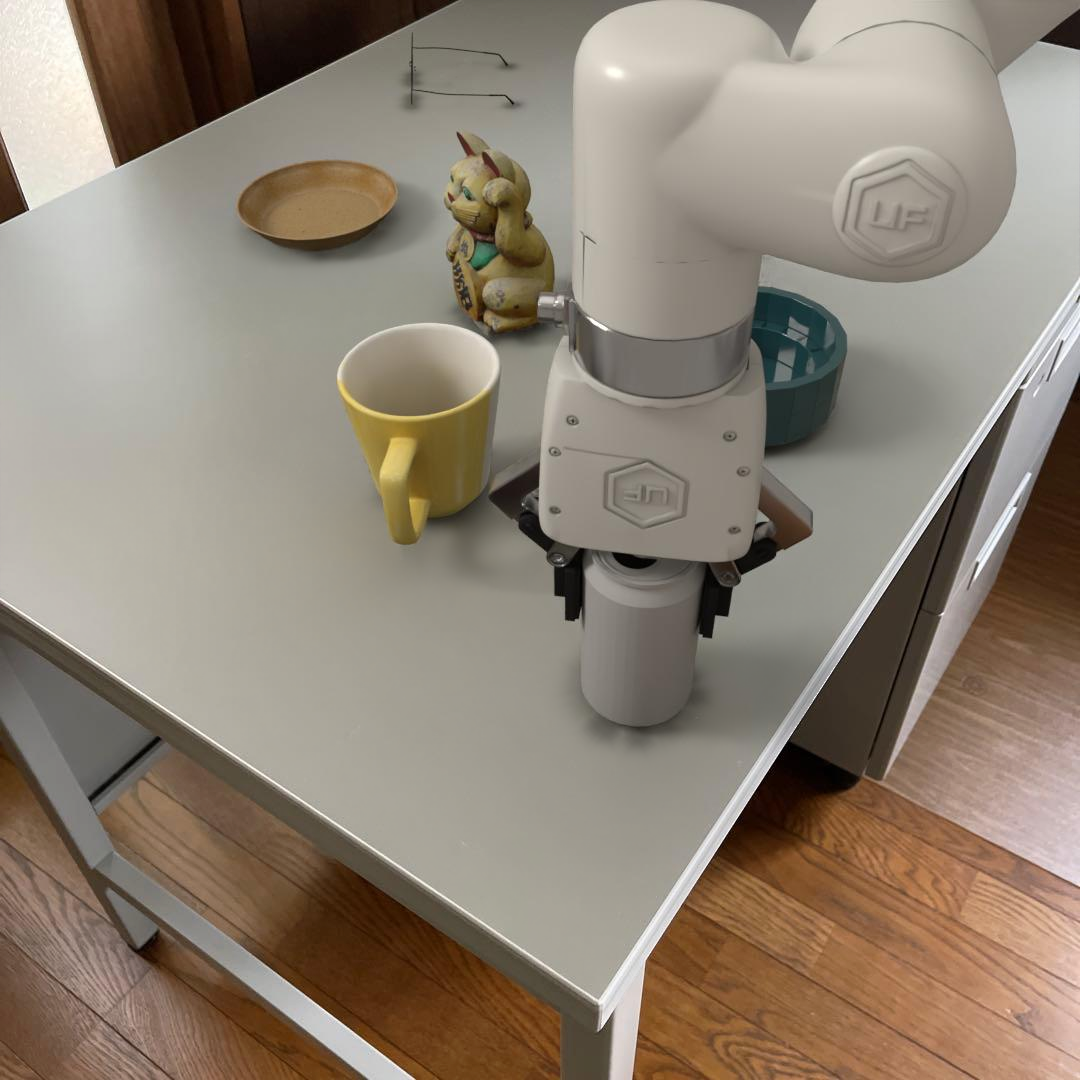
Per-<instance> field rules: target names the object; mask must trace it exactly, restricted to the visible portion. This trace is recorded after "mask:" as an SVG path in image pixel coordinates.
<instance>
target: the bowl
mask: <svg viewBox="0 0 1080 1080" xmlns="http://www.w3.org/2000/svg"><path fill="white" fill-rule="evenodd" d="M751 339H752V340H753V341H754V342H755V343H756V344H757V346H758V348H759V350H760V352H761V355H762V362H763V370H764V378H765V388H766V437H765V448H771V447H777V446H780V445H786V444H789V443H791V442H795V441H797V440H800V439H804V438H806V437H808V436H811V435H812V434H814V433H815V432H816V431H818V430H819V429H820V428H821V427H822V426H824V425H825V424H826V423H827V422H828V421H829V419H830V417H831V415H832V414H833V412H834V409H836V404H837V401H838V396H839V390H840V387H841V386H840V385H841V382H842V377H843V372H844V369H845V364H846V359H847V354H848V334H847V333H846V331H845V328H844V327H843V325H842V324H841V322H840V320H839V318H838V317H837V316H835V315H834V314H833V313H832V312H830V311H829V310H828V309H827V308H826V307H824V305H822V304H820V303H818V302H817V301H814V300H812V299H810V298H808V297H806V296H803V295H801V294H800V293H799V294H798V293H796V292H793V291H788V290H785V289H781V288H777V287H773V286H763V285H758V291H757V297H756V307H755V314H754V321H753V328H752V335H751Z"/></svg>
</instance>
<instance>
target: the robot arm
mask: <svg viewBox="0 0 1080 1080" xmlns="http://www.w3.org/2000/svg"><path fill="white" fill-rule="evenodd" d="M1079 10H1080V0H815V2H814V4H813V5H812V7H811V8H810V9H809V11H808V13H807V15H806V16H805V18H804V20H803V21H802V23H801V24H800V27H799V29H798V31H797V33H796V36H795V39H794V40H793V44H792V46H791V50H790V53H789V55H788V54H787V53H786V51H785V48H784V45H783V43H782V41H781V39H780V38H779V36H778V34H777V33H776V31H774V29H773V28H772V27H771V26H770V25H769V24H768V23H767V22H765V21H764V20H763V19H762V18H760V17H758V16H757V15H756V14H754V13H751V12H749V11H747V10H746V9H741V8H739V7H736V6H732V5H729V4H724V3H720V2H715V1H709V0H652V1H645V2H639V3H635V4H632V5H628V6H625V7H621V8H619V9H617V10H615V11H612V12H610V13H608V14H607V15H606V16H604V17H603V18H601V19H600V20H599V21H597V22H596V23H595V24H593V26H592V27H590V29H588V31H587V32H586V34H585V35H584V37H583V38H582V40H581V43H580V45H579V48H578V50H577V52H576V56H575V60H574V65H573V84H572V258H571V259H572V263H571V264H572V265H571V267H572V270H571V271H572V272H571V274H572V275H571V282H568V283H567V287H566V289H558V290H557V292H556V291H553V292H546V291H541V292H540V295H539V300H538V311H537V317H538V322H539V323H540V324H547V325H549V324H550V325H554V328H557V329H563V333H564V334H563V336H562V338H561V339H560V342H559V345H558V347H557V348H556V350H555V353H554V356H553V359H552V361H551V362H552V363H551V366H550V371H549V374H548V378H547V379H548V380H547V385H546V391H545V397H544V403H543V405H544V406H543V414H542V415H543V416H542V428H541V438H540V439H541V441H540V446H539V448H537V449H536V450H533V451H532V452H530V453H529V454H528V455H525V456H524V457H522V458H521V459H519V460H518V461H516V462H515V463H513V464H512V465H510V466H509V467H507V468H506V469H504V470H502V471H500V472H499V473H497V474H496V475H495V476H494V477H493V478H492V481H491V482H492V483H491V486H490V489H489V492H488V495H487V497H488V500H489V501H490V502H491V504H493V505H494V506H495V507H496V508H497V509H498V510H500V511H501V512H502V513H503V514H504V515H506V517H508V518H509V519H510V520H514V521H515V522H516V523H517V527H518V529H519V531H520V532H521V533H522V534H524V536H526V537H527V538H528V539H529V540H531V541H532V542H533V543H534V544H536V545H537V546H538V547H539V548H540V549H542V550H543V551H544V552H545V553H546V555H545V559H546V561H547V563H548V564H549V565H551V566H552V567H553V594H554V597H560V598H564V620H565V622H566V621H567V622H576V620H579V619H580V616H581V606H582V558H583V553H584V549H585V548H587V549H594V550H602V551H610V552H619V553H627V554H635V555H644V556H653V557H662V558H671V559H681V560H690V561H701V562H707V571H706V579H705V587H704V595H703V602H702V610H701V618H700V627H699V636H700V635H701V636H702V638H705V639H711V640H712V639H713V635H714V627H715V622H716V617H723V618H724V617H725V618H729V616H730V611H731V603H732V597H733V590H734V588H735V587H737V586H738V585H740V583H741V582H742V576H744V575H746V574H747V573H749V572H751V571H753V570H755V569H757V568H759V567H761V566H763V565H765V564H767V563H769V562H771V561H773V560H775V558H776V557H777V554H778V552H781V551H782V550H783V551H786V550H788V549H790V548H792V547H793V546H795V545H797V544H799V543H801V542H802V541H804V540H806V539H809V538H810V537H811V536H812V534H813V532H814V512H813V511H812V508H810V507H809V506H808V505H807V504H806V503H804V502H803V501H802V500H801V499H800V498H799V497H797V495H795V494H794V492H792V491H791V490H790V489H789V488H788V487H787V486H786V485H785V484H783V482H782V481H780V480H779V479H778V478H777V477H776V476H775V475H774V474H773V473H771V472H770V471H769V470H768V469H767V468H766V467H765V466H764V457H765V448H766V447H765V437H766V388H765V378H764V370H763V362H762V355H761V352H760V350H759V348H758V346H757V344H756V343H755V342H754V341H753V340H752V339H751V335H752V328H753V321H754V314H755V307H756V297H757V291H758V286H759V283H760V276H761V269H762V261H763V255H766V256H770V257H773V258H777V259H781V260H784V261H788V262H792V263H795V264H797V265H801V266H805V267H807V268H811V269H816V270H818V271H822V272H826V273H829V274H833V275H837V276H839V277H840V276H841V277H844V278H849V279H854V280H859V281H860V280H861V281H865V282H871V283H889V284H900V283H913V282H919V281H924V280H929V279H933V278H937V277H938V276H941V275H945V274H947V273H950V272H951V271H954V270H955V269H957V268H959V267H961V266H963V265H964V264H966V263H967V262H968V261H970V260H971V259H973V258H974V257H975V256H977V254H979V253H980V252H982V250H983V249H984V248H985V247H986V246H988V244H989V243H990V242H991V240H992V239H993V238H994V237H995V235H996V234H997V233H998V231H999V229H1000V228H1001V226H1002V224H1003V223H1004V221H1005V219H1006V218H1007V216H1008V212H1009V210H1010V208H1011V204H1012V201H1013V197H1014V193H1015V189H1016V184H1017V175H1018V172H1017V171H1018V169H1017V168H1018V167H1017V148H1016V143H1015V142H1016V141H1015V138H1014V137H1015V136H1014V133H1013V129H1012V128H1013V127H1012V124H1011V122H1010V121H1011V120H1010V118H1009V115H1008V110H1007V108H1006V107H1007V106H1006V104H1005V100H1004V95H1003V93H1002V89H1001V85H1000V80H999V77H998V75H999V74H1001V73H1002V72H1003V71H1004V70H1005V69H1006V68H1008V67H1009V66H1010V65H1012V64H1013V62H1015V61H1016V60H1017V59H1019V57H1021V56H1022V55H1023V54H1025V53H1026V52H1028V50H1029V49H1030V48H1032V47H1033V46H1034V45H1035V44H1037V43H1038V42H1039V41H1040V40H1041V39H1043V38H1044V37H1046V36H1047V35H1048V34H1049V33H1050V32H1052V31H1053V30H1054V29H1055V28H1056V27H1057V26H1059V25H1061V23H1063V22H1065V20H1066V19H1068V18H1070V17H1071V16H1072V15H1074V14H1075V13H1076V12H1077V11H1079ZM537 489H538V496H534V495H533V494H534V493H533V492H534V491H536V490H537ZM758 511H760V513H761V514H762V515H764V516H765V517H766V518H767V519H768V521H765V520H764V521H759V522H757V518H758V517H757V516H758Z"/></svg>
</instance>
